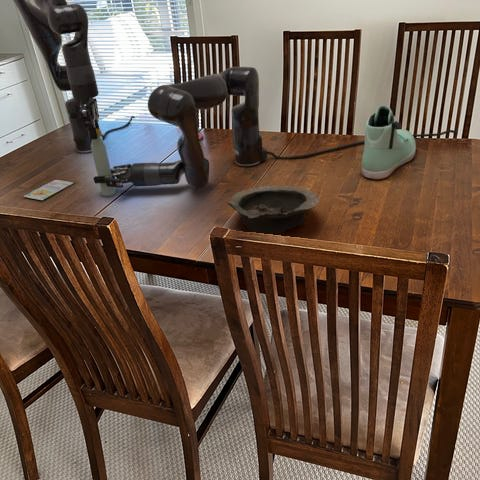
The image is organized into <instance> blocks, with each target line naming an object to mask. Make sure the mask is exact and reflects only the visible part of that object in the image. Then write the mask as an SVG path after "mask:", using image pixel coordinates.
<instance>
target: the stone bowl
mask: <svg viewBox="0 0 480 480" xmlns="http://www.w3.org/2000/svg"><path fill="white" fill-rule="evenodd" d="M319 203H320V199H319V198H318V197H317V195H316V193H314V192H313V191H311V190H309V189H307V188H302V187H298V186H291V185H277V184H275V185H274V184H271V185H266V186H265V185H262V186H254V187H251V188H248V189H244V190H240V191H238V192H236V193H235V194H233V195H232V196H231V198H230V200H229V203H228V202H227V204H226V205H228V206H230V207H231V208H232V209H234V211H236V212H237V213H238V214H239V215H240V217H241V220H242V223H243V225H244V226H246V227H247V228H248V229H249V232H250V233H251V232H256V233H264V234H273V235H279V236H281V235H284V234H285V233H286V232H285V231H286V230H292V229H294V228H300V227H301V226H303V224H304V220H305V217H306V212H308V211H310V210H312V209H313V208H315V207H317V206H318V204H319Z"/></svg>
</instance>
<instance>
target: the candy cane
mask: <svg viewBox="0 0 480 480" xmlns="http://www.w3.org/2000/svg"><path fill="white" fill-rule="evenodd" d="M198 136H199V141H200V140H203V138H204V136H203V134H202V133H199V132H198Z"/></svg>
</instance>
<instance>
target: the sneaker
mask: <svg viewBox="0 0 480 480" xmlns="http://www.w3.org/2000/svg"><path fill="white" fill-rule="evenodd" d="M364 129H365V130H364V141H365V143H364V148H363V153H362V158H361V175H362V176H363V177H365V178H367V179H371V180H382V179H385V178H387V177H389V176H390V175H391V174H392V173H394V171H395V170H396V169H398V168H399V167H400V166H402V165H404V164H407V163H409V162H410V161H412V160H413V159H414V158H415V155H416V151H417V147H416V145H417V144H416V139H415V137H413V135H414V134H412V132H411V131H409V130H407V129H402V125H401V123H400V122H398V120H396V116H395V115H393V110H392V109H391V108H390V107H389V106H387V105H379V106H378V107H377V108H376V111H375V112H373V114H371V115H370V116H369V117H368V118H367V121H366V123H365V128H364Z"/></svg>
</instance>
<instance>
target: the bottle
mask: <svg viewBox="0 0 480 480" xmlns="http://www.w3.org/2000/svg"><path fill="white" fill-rule="evenodd" d="M91 143H92V144H91V150H92V152H91V153H92V154H91V155H92V158H93V163H94V166H95V171H96V176H109V175H112V174H111V165H110V161H109V157H108V151H107V147H106V144H105V143H104V141H103V138H102V137H98V138H97V139H95V140H92V142H91ZM99 188H100V191H101V195H102V196H103V197H110V196H113V195H115V194H116V187H107V186H106V183H99Z"/></svg>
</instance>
